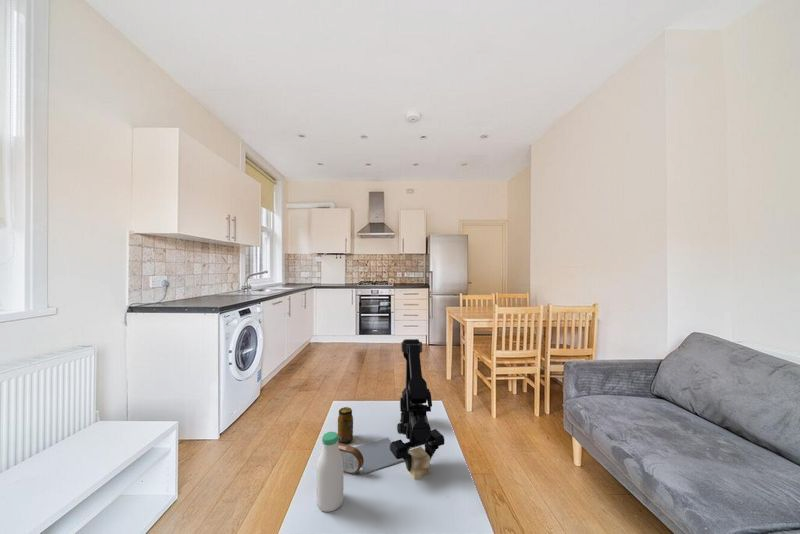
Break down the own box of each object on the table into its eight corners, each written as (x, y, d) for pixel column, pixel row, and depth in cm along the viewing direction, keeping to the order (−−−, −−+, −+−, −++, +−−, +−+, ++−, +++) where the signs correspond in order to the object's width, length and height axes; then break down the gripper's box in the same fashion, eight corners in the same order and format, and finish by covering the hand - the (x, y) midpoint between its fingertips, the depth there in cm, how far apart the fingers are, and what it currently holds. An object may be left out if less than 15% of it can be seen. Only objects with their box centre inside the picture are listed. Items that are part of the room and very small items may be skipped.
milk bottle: (348, 501, 88) (348, 435, 88) (326, 517, 83) (326, 446, 83) (333, 488, 94) (333, 425, 93) (311, 502, 88) (311, 435, 88)
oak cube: (420, 463, 106) (420, 446, 106) (429, 473, 100) (429, 456, 100) (405, 468, 103) (405, 451, 103) (414, 479, 98) (414, 461, 98)
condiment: (348, 432, 125) (348, 404, 125) (359, 441, 118) (359, 412, 118) (332, 439, 120) (332, 409, 120) (343, 449, 114) (343, 418, 113)
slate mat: (387, 438, 120) (387, 437, 120) (405, 460, 107) (405, 459, 107) (352, 448, 114) (352, 447, 114) (365, 473, 100) (365, 472, 100)
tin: (364, 472, 101) (364, 447, 101) (359, 478, 98) (359, 453, 98) (326, 462, 106) (326, 438, 106) (320, 467, 103) (320, 443, 103)
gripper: (428, 406, 113) (428, 447, 113) (383, 417, 105) (383, 461, 105) (445, 420, 103) (445, 464, 103) (397, 434, 95) (397, 482, 95)
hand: (417, 467), depth 102 cm, fingers open, 7 cm apart
